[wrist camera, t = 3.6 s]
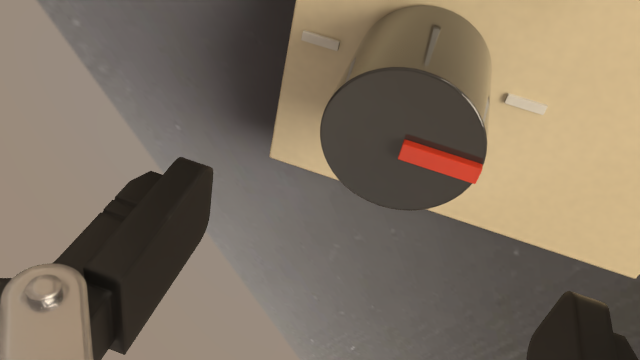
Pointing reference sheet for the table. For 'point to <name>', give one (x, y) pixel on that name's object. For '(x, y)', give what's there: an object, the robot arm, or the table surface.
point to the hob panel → (510, 116)
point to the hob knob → (411, 110)
